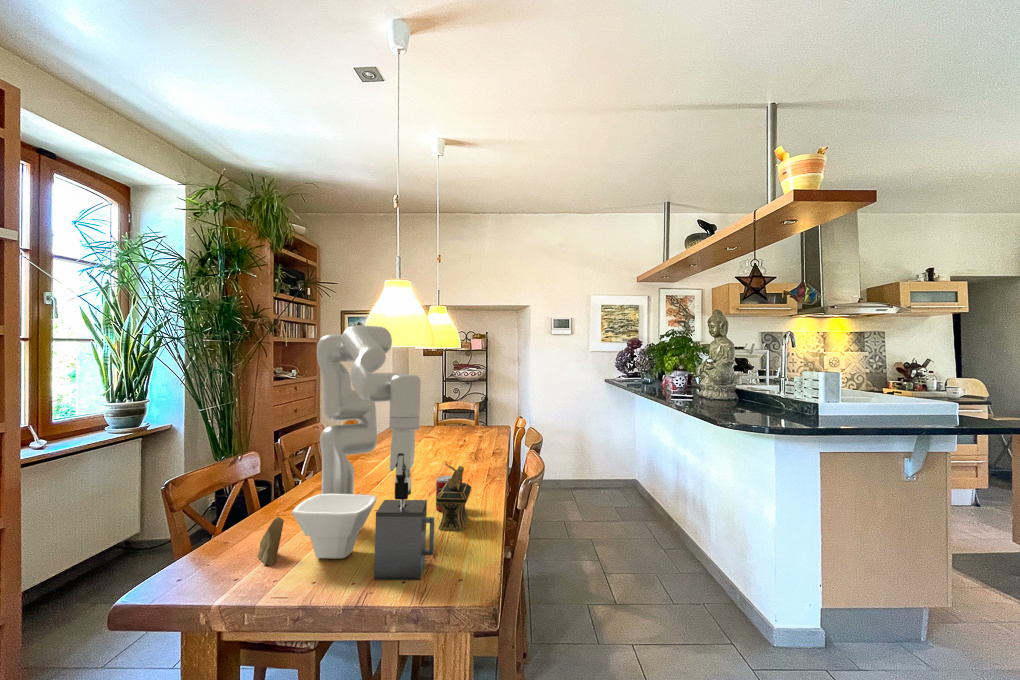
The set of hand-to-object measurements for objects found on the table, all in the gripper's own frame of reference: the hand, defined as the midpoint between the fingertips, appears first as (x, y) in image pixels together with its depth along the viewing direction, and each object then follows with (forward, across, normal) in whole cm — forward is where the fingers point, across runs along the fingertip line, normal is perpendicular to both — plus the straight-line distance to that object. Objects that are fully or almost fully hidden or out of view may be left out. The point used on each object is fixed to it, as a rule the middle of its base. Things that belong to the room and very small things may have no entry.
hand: (402, 495), depth 130 cm
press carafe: (+18, 0, +1) cm, 19 cm away
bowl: (+19, -10, -19) cm, 29 cm away
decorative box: (+19, -35, +11) cm, 41 cm away
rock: (+19, -8, -36) cm, 41 cm away
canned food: (+19, -52, +8) cm, 56 cm away
